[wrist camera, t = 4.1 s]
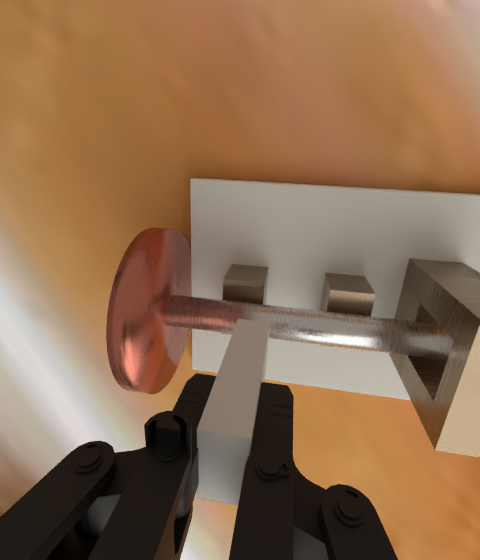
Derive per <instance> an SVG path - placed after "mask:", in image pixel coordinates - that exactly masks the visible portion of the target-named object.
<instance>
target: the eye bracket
mask: <svg viewBox="0 0 480 560" xmlns="http://www.w3.org/2000/svg"><path fill="white" fill-rule="evenodd" d="M268 270H269V267H261V266H250V265H239V264H232V265H231V267H230V268H229V270H228V272H227V273H226V275H225V277H224V278H223V300H227V301H236V302H245V303H254V304H263V305H266V295H267V282H268ZM375 295H376V294H375V292H374V291H373V289H372V287H371V286H370V284H369V282H368V281H367V279H366V277H365V276H356V275H346V274H335V273H325V279H324V286H323V293H322V299H321V306H320V311H327V312H336V313H345V314H354V315H363V316H371V314H372V309H373V305H374V300H375ZM394 319H399V320H409V321H418V322H427V323H436V324H439V325H440V326H441V327H442V328H443V329H444V330H445V331H446V333H447V334H448V335H449V336H450V337H451V338H452V339H453V341H454V342H453V345H452V348H451V351H450V354H449V357H448V360H440V359H432V358H423V357H415V356H407V355H399V354H391V353H389V355H390V357H391V360H392V362H393V364H394V366H395V368H396V370H397V372H398V374H399V376H400V378H401V380H402V382H403V385H404V387H405V389H406V391H407V393H408V395H409V397H410V399H411V401H412V403H413V405H414V407H415V409H416V412H417V414H418V416H419V418H420V420H421V422H422V424H423V426H424V428H425V430H426V432H427V434H428V437H429V439H430V441H431V443H432V445H433V447H434V449H435V450H437V451H444V452H450V453H456V454H462V455H468V456H475V457H480V273H479V272H478V271H476V270H475V269H473V268H471V267H470V266H468V265H466V264H465V263H460V262H449V261H437V260H425V259H414V258H409V261H408V265H407V269H406V273H405V278H404V282H403V286H402V290H401V294H400V298H399V302H398V306H397V310H396V314H395V318H394ZM222 334H228V335H232V334H230V333H222ZM321 346H324V347H332V348H340V349H348V350H356V351H364V350H359V349H351V348H343V347H335V346H327V345H321Z"/></svg>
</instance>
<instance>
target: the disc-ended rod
mask: <svg viewBox="0 0 480 560" xmlns="http://www.w3.org/2000/svg"><path fill="white" fill-rule="evenodd" d="M238 319H245V320H253V321H261V322H270V329H269V338H271V339H279V340H287V341H295V342H303V343H311V344H319V345H327V346H335V347H343V348H351V349H359V350H367V351H375V352H383V353H391V354H399V355H407V356H415V357H423V358H432V359H440V360H448V357H449V354H450V351H451V348H452V345H453V342H454V341H453V339H452V338H451V337H450V336H449V335H448V334H447V333H446V331H445V330H444V329H443V328H442V327H441V326H440V325H439V324H436V323H427V322H418V321H409V320H399V319H390V318H381V317H372V316H363V315H354V314H345V313H336V312H327V311H318V310H309V309H300V308H291V307H282V306H273V305H263V304H254V303H245V302H236V301H227V300H218V299H209V298H200V297H192V282H191V251H190V247H189V244H188V241H187V240H186V238H185V236H184V235H183V233H181V232H180V231H179V230H176V229H165V228H148V229H145V230H144V231H142V232H141V233H139V234H138V235H137V236H136V237H135V239H134V240H133V241H132V242H131V244H130V245H129V247H128V248H127V250H126V252H125V254H124V256H123V258H122V260H121V262H120V265H119V267H118V270H117V273H116V276H115V279H114V283H113V286H112V291H111V295H110V300H109V307H108V314H107V332H106V340H107V352H108V358H109V363H110V367H111V370H112V373H113V375H114V378H115V380H116V381H117V382H118V384H119V385H120V386H121V387H122V388H123V389H126V390H128V391H134V392H140V393H147V394H156V393H158V392H160V391H161V390H163V389H164V388H165V387H166V385H167V384H168V383H169V382H170V380H171V378H172V377H173V375H174V373H175V371H176V369H177V367H178V365H179V362H180V360H181V357H182V354H183V351H184V348H185V344H186V341H187V337H188V333H189V328H190V329H198V330H206V331H214V332H222V333H230V334H232V333H233V330H234V328H235V325H236V322H237V320H238Z"/></svg>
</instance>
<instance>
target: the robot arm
mask: <svg viewBox="0 0 480 560" xmlns="http://www.w3.org/2000/svg"><path fill="white" fill-rule="evenodd" d="M269 329H270V322H261V321H253V320H245V319H238V320H237V322H236V325H235V328H234V330H233V333H232V336H231V339H230V341H229V344H228V347H227V349H226V352H225V355H224V357H223V360H222V363H221V366H220V368H219V371H218V374H217V376H211V375H204V374H197V373H196V374H195V375H194V376H193V377H191V378H190V379H189V380H188V381H187V382H186V384H185V386H184V388H183V390H182V393H181V394H180V396H179V398H178V402H177V403H176V405H175V407H174V409H173V411H165V412H161V413H158V414H156V415H154V416H153V417H151V418H150V419H149V420H148V421H147V422H146V423H145V425H144V427H145V439H146V447H144V448H142V449H138V450H133V451H126V452H117V453H114V450H113V447H112V446H111V445H109V444H108V443H107V442H102V441H93V442H88V443H86V444H83V445H81V446H79V447H77V448H76V449H75V450H73V451H72V452H71V453H69V454H68V455H67V456H66V457H65V458H64V459H63V460H62V461H61V462H60V463H59V464H57V465H56V466H55V467H54V468H53V469H52V470H51V471H50V472H49V473H48V474H47V475H46V476H44V477H43V478H42V479H41V480H40V481H39V482H38V483H37V484H36V485H35V486H34V487H33V488H31V489H30V490H29V491H28V492H27V493H26V494H25V495H24V496H23V497H22V498H21V499H20V500H18V501H17V502H16V503H15V504H14V505H13V506H12V507H11V508H10V509H9V510H8V511H7V512H5V513H4V514H3V515H2V516H1V517H0V560H180V557H181V553H182V550H183V546H184V543H185V539H186V536H187V533H188V529H189V526H190V522H191V519H192V511H193V500H194V497H195V493H196V490H197V497H198V498H203V499H208V500H213V501H218V502H223V503H227V504H232V505H237V506H238V510H237V515H236V521H235V527H234V533H233V538H232V544H231V550H230V556H229V560H398V558H397V556H396V554H395V552H394V550H393V547H392V545H391V543H390V541H389V538H388V536H387V534H386V532H385V530H384V527H383V525H382V523H381V521H380V518H379V516H378V514H377V512H376V510H375V508H374V506H373V505H372V503H371V502H370V500H369V499H368V498H367V497H366V496H365V495H364V494H363V493H361V492H360V491H359V490H357V489H355V488H353V487H351V486H348V485H341V484H338V485H334V486H330V487H329V488H328V489H327V490H326V489H324V488H322V487H320V486H318V485H316V484H314V483H312V482H311V481H309V480H308V479H306V478H305V477H304V476H303V475H302V474H301V473H300V472H299V470H298V469H297V467H296V466H295V463H294V461H293V394H292V393H291V391H290V389H289V387H288V386H286V385H279V384H272V383H265V382H264V380H265V373H266V363H267V351H268V340H269Z"/></svg>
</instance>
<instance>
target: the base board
mask: <svg viewBox="0 0 480 560" xmlns="http://www.w3.org/2000/svg"><path fill="white" fill-rule="evenodd" d="M190 184H191V282H192V297H200V298H209V299H218V300H223V278H224V277H225V275H226V273H227V272H228V270H229V268H230V267H231V265H232V264H239V265H250V266H261V267H269V270H268V282H267V295H266V305H273V306H282V307H291V308H300V309H309V310H318V311H320V306H321V299H322V293H323V286H324V279H325V273H335V274H346V275H356V276H365V277H366V279H367V281H368V282H369V284H370V286H371V287H372V289H373V291H374V292H375V294H376V295H375V300H374V305H373V309H372V314H371V316H372V317H381V318H390V319H394V318H395V314H396V310H397V306H398V302H399V298H400V294H401V290H402V286H403V282H404V278H405V273H406V269H407V265H408V261H409V258H414V259H425V260H437V261H449V262H460V263H465V264H466V265H468V266H470V267H471V268H473V269H475V270H476V271H478V272H479V273H480V194H467V193H450V192H433V191H416V190H398V189H381V188H364V187H347V186H330V185H312V184H295V183H278V182H261V181H244V180H226V179H209V178H192V179H190ZM231 336H232V335H228V334H222V332H214V331H206V330H198V329H192V369H194V370H201V371H208V372H215V373H218V371H219V368H220V366H221V363H222V360H223V357H224V355H225V352H226V349H227V347H228V344H229V341H230V339H231ZM265 380H272V381H279V382H286V383H293V384H300V385H307V386H314V387H321V388H328V389H335V390H342V391H349V392H356V393H363V394H370V395H377V396H384V397H391V398H398V399H405V400H411V399H410V397H409V395H408V393H407V391H406V389H405V387H404V385H403V382H402V380H401V378H400V376H399V374H398V372H397V370H396V368H395V366H394V364H393V362H392V360H391V357H390V355H389V353H383V352H375V351H367V350H364V351H356V350H348V349H340V348H332V347H324V346H321V345H319V344H311V343H303V342H295V341H287V340H279V339H271V338H269V340H268V351H267V363H266V373H265Z"/></svg>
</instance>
